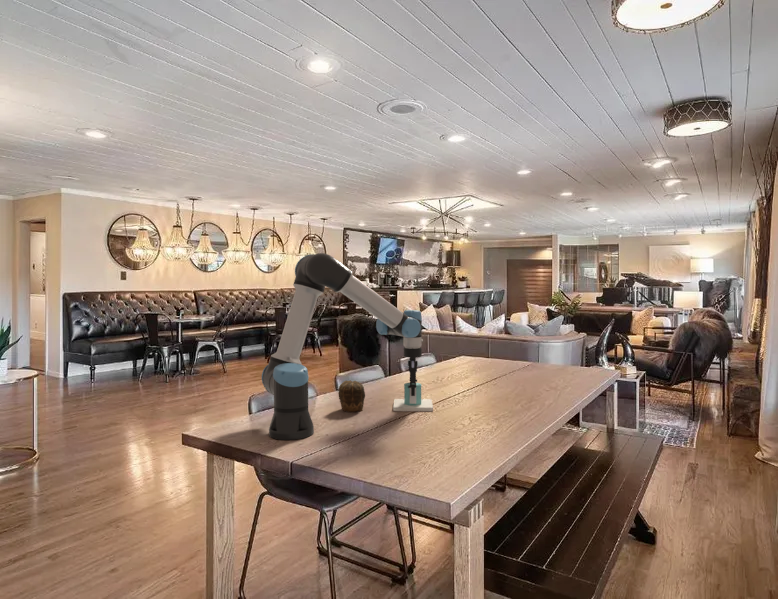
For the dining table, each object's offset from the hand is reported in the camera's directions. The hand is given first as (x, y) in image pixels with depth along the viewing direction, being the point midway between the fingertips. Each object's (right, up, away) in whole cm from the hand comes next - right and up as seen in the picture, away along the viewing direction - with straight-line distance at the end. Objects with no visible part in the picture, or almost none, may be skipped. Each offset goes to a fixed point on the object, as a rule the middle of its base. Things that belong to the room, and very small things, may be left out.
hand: (412, 400), depth 211 cm
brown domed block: (-25, -3, -5) cm, 26 cm away
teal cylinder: (0, -1, -1) cm, 1 cm away
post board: (0, -3, 0) cm, 3 cm away
